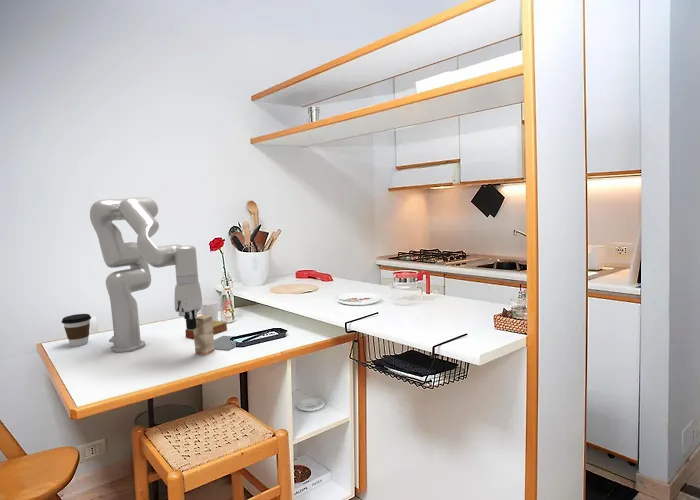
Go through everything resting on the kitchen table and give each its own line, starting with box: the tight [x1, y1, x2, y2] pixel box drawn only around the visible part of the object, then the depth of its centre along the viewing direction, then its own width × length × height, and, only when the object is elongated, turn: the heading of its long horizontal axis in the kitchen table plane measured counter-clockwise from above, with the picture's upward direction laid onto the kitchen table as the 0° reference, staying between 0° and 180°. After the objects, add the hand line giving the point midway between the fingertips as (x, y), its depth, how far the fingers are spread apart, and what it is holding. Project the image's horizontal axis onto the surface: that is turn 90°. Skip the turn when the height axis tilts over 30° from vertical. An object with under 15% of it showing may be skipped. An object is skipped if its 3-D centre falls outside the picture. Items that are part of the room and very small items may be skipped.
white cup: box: [200, 300, 219, 321], centre depth 225 cm, size 8×8×10 cm
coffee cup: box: [60, 313, 92, 347], centre depth 199 cm, size 11×11×12 cm
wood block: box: [193, 314, 216, 356], centre depth 180 cm, size 5×5×14 cm
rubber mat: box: [214, 335, 236, 352], centre depth 192 cm, size 14×16×1 cm
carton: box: [185, 320, 228, 340], centre depth 207 cm, size 8×16×4 cm, turn 147°
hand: (191, 328), depth 174 cm, fingers closed
